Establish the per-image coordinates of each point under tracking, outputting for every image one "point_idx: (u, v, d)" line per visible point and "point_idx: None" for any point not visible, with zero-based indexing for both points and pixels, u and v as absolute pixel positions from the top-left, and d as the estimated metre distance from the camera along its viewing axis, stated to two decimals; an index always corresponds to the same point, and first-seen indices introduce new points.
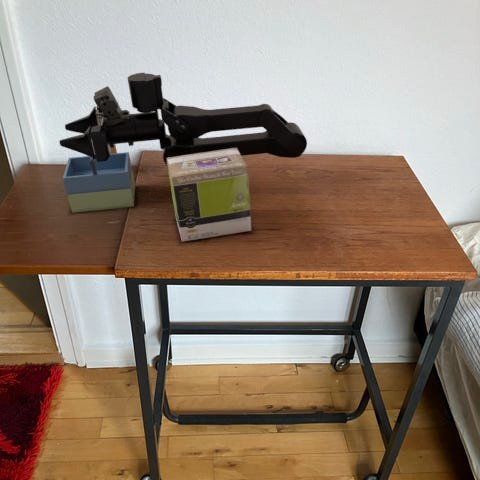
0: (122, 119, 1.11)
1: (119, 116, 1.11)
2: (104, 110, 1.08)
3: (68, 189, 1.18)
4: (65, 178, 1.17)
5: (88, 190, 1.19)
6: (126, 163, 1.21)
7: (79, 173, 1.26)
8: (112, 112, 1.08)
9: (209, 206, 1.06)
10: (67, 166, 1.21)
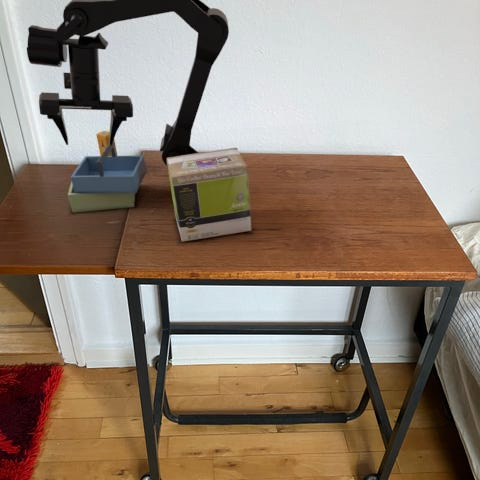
0: None
1: None
2: None
3: (76, 188, 1.18)
4: (73, 177, 1.17)
5: (95, 191, 1.18)
6: (136, 167, 1.19)
7: (94, 172, 1.26)
8: None
9: (209, 206, 1.06)
10: (80, 165, 1.21)
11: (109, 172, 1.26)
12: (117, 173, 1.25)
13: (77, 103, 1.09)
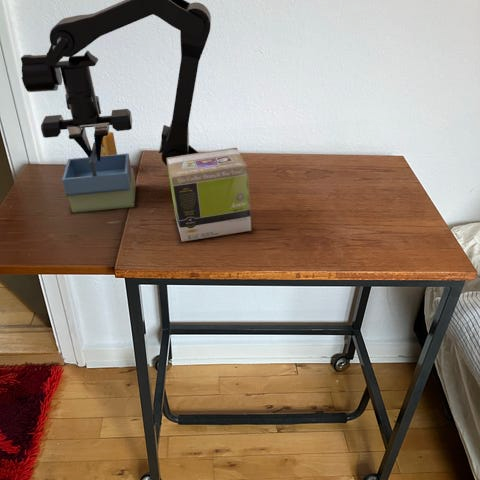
0: None
1: None
2: None
3: (67, 190, 1.17)
4: (64, 179, 1.16)
5: (88, 191, 1.18)
6: (126, 164, 1.20)
7: (78, 174, 1.25)
8: (66, 101, 1.16)
9: (209, 206, 1.06)
10: (66, 167, 1.20)
11: None
12: (103, 173, 1.25)
13: (75, 122, 1.12)
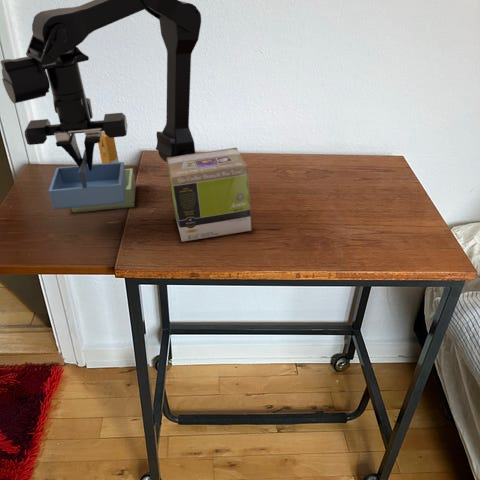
0: None
1: None
2: None
3: (54, 203, 1.05)
4: (51, 191, 1.04)
5: (77, 204, 1.06)
6: (120, 175, 1.08)
7: (68, 185, 1.13)
8: (54, 104, 1.04)
9: (209, 206, 1.06)
10: (54, 177, 1.08)
11: None
12: (95, 183, 1.13)
13: (63, 128, 1.00)
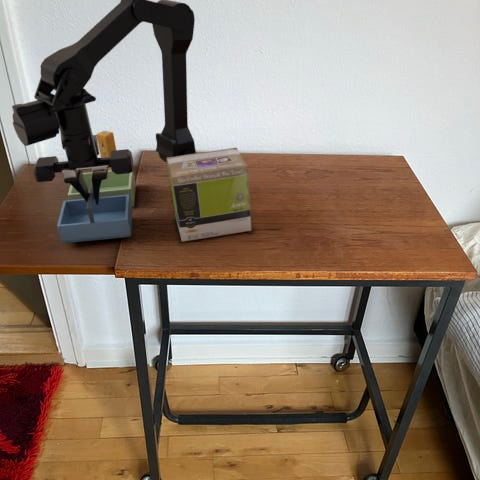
0: None
1: None
2: None
3: (63, 237, 1.08)
4: (59, 226, 1.06)
5: (85, 238, 1.09)
6: (126, 208, 1.11)
7: (75, 217, 1.16)
8: None
9: (209, 206, 1.06)
10: (62, 211, 1.11)
11: None
12: (101, 216, 1.16)
13: (71, 166, 1.02)
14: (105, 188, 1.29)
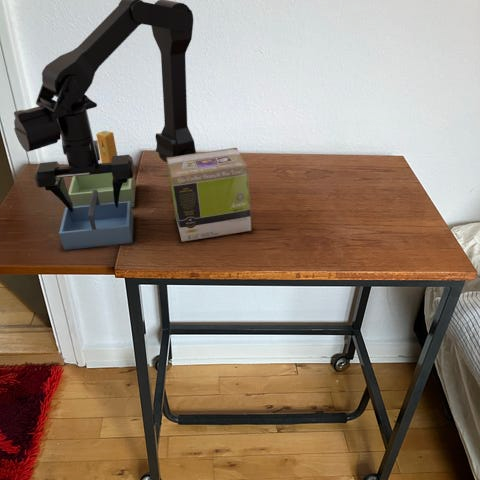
0: None
1: None
2: None
3: (65, 244, 1.09)
4: (61, 233, 1.07)
5: (86, 245, 1.10)
6: (127, 215, 1.12)
7: (77, 223, 1.17)
8: (62, 146, 1.08)
9: (209, 206, 1.06)
10: (64, 218, 1.12)
11: None
12: (103, 222, 1.17)
13: (72, 171, 1.03)
14: (105, 188, 1.29)
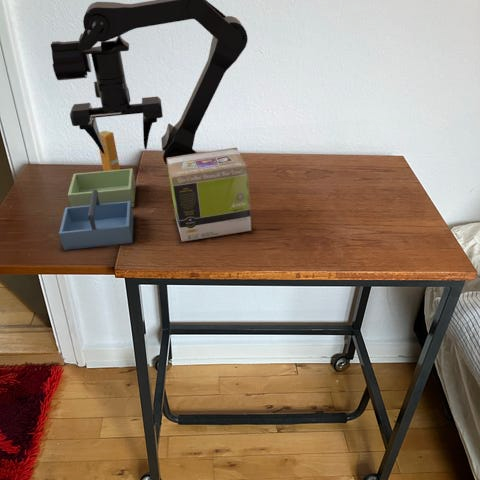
0: None
1: None
2: None
3: (65, 244, 1.09)
4: (61, 233, 1.07)
5: (86, 245, 1.10)
6: (127, 215, 1.12)
7: (77, 223, 1.17)
8: None
9: (209, 206, 1.06)
10: (64, 218, 1.12)
11: None
12: (103, 222, 1.17)
13: (106, 110, 1.09)
14: (105, 188, 1.29)
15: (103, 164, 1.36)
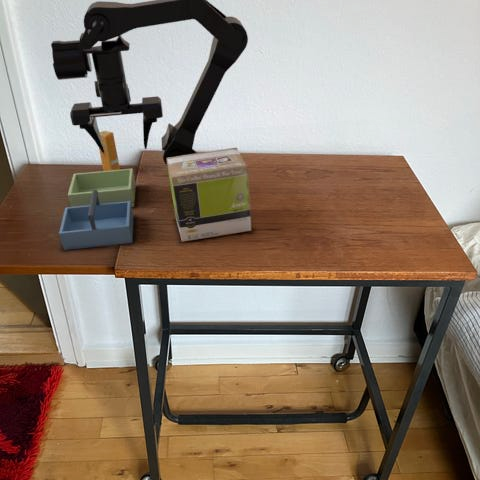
0: None
1: None
2: (97, 95, 1.15)
3: (65, 244, 1.09)
4: (61, 233, 1.07)
5: (86, 245, 1.10)
6: (127, 215, 1.12)
7: (77, 223, 1.17)
8: (95, 89, 1.14)
9: (209, 206, 1.06)
10: (64, 218, 1.12)
11: None
12: (103, 222, 1.17)
13: (106, 110, 1.09)
14: (105, 188, 1.29)
15: (103, 164, 1.36)
